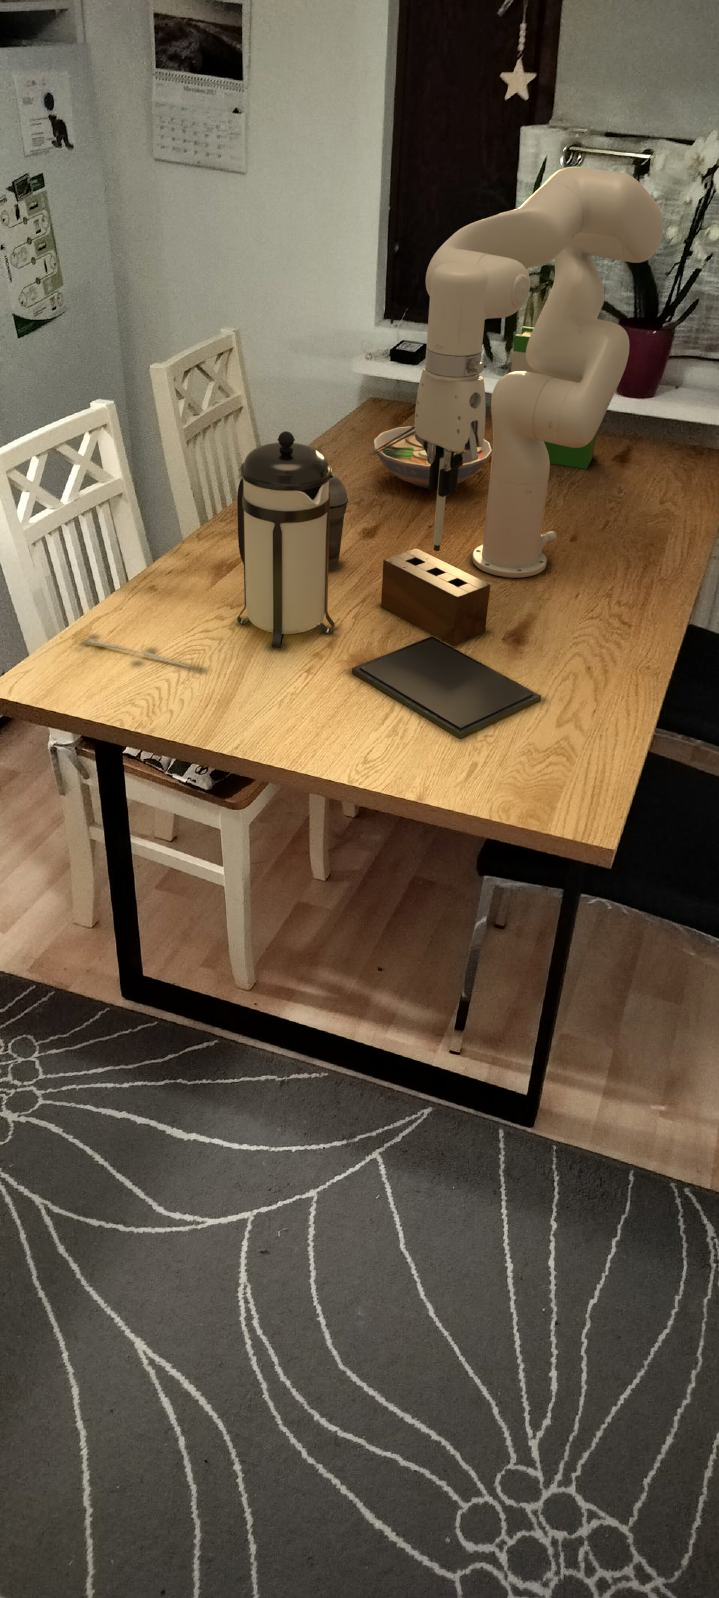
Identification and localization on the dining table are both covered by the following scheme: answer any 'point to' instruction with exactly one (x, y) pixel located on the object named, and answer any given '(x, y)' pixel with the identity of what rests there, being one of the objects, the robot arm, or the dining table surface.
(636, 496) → the dining table surface
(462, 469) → the ramen bowl
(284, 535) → the coffee press
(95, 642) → the stylus
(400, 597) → the pen block
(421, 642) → the tablet
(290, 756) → the dining table surface
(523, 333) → the hardback book
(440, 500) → the rod
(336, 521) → the beverage cup
